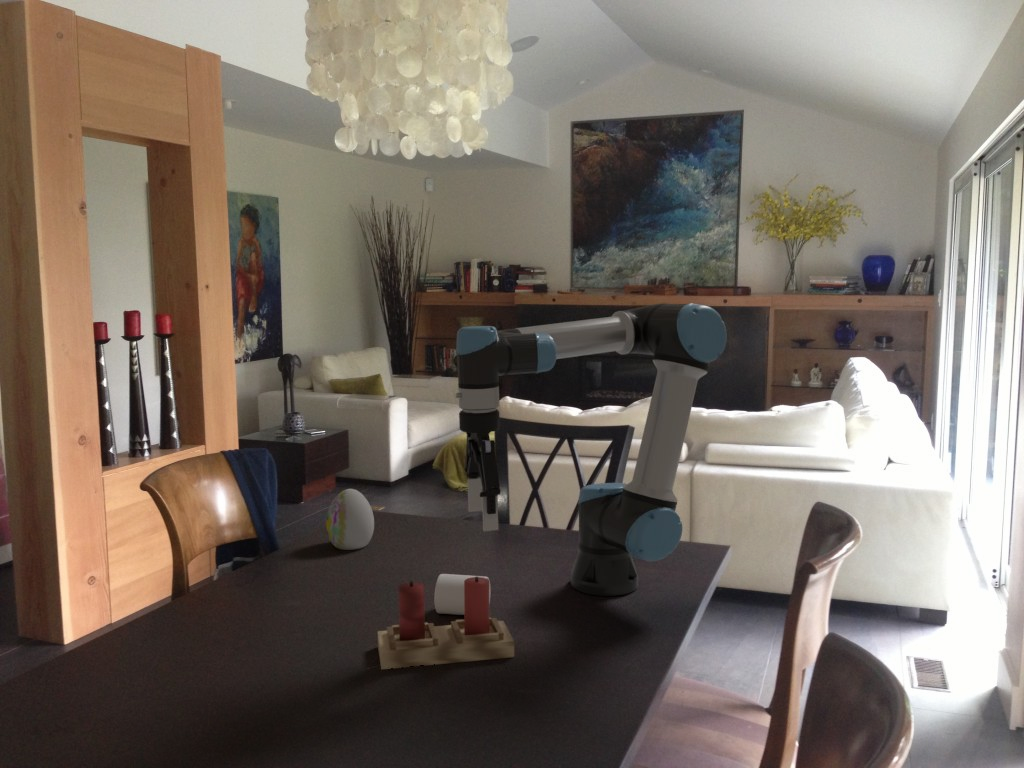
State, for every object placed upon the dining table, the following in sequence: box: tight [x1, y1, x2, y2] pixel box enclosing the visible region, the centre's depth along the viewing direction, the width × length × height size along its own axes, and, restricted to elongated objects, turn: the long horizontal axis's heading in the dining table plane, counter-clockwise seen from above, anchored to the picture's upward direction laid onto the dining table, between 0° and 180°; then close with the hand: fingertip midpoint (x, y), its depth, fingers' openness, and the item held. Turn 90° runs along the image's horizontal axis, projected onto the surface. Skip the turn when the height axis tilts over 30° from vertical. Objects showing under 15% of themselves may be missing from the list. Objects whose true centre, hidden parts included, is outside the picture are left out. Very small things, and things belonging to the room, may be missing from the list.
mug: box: [433, 573, 491, 616], centre depth 181 cm, size 12×10×8 cm
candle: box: [463, 577, 490, 635], centre depth 161 cm, size 5×5×11 cm
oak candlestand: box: [377, 580, 515, 670], centre depth 160 cm, size 24×10×14 cm, turn 102°
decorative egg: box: [325, 488, 375, 551], centre depth 225 cm, size 12×12×15 cm
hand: (482, 520), depth 164 cm, fingers open, 13 cm apart
